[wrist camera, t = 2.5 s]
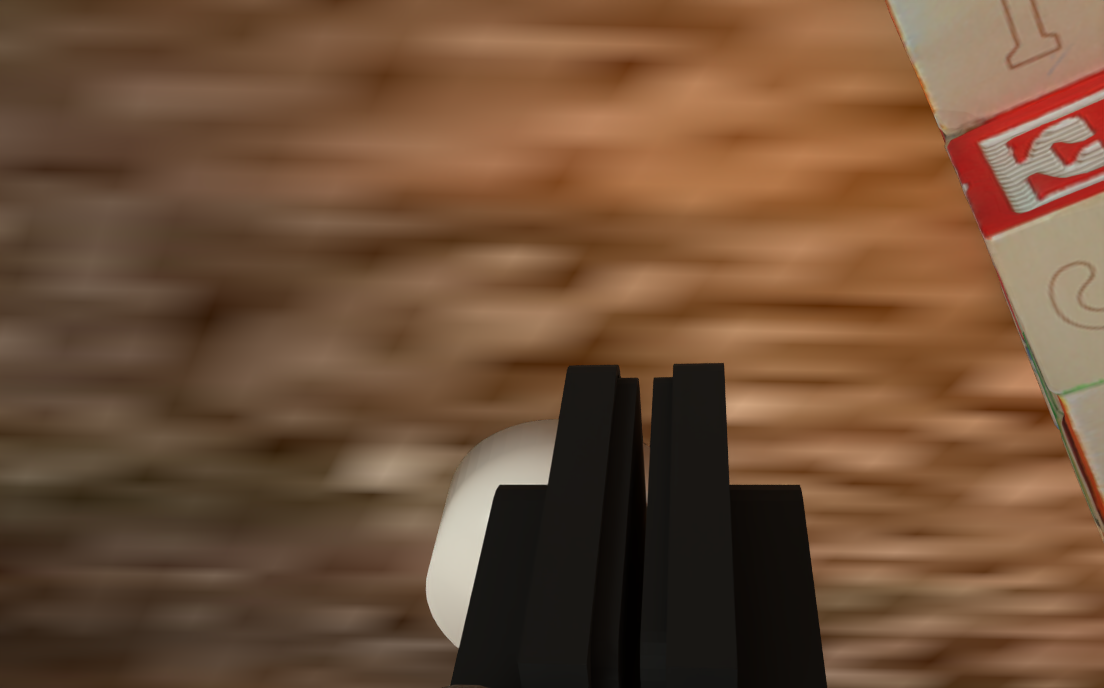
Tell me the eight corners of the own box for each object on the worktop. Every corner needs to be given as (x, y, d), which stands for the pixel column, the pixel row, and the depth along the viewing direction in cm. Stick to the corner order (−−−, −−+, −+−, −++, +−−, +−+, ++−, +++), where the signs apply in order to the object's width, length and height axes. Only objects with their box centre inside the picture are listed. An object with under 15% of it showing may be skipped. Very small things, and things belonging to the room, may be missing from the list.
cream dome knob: (431, 418, 33) (404, 507, 30) (686, 414, 32) (687, 506, 29) (467, 591, 38) (447, 684, 34) (692, 592, 36) (693, 689, 33)
